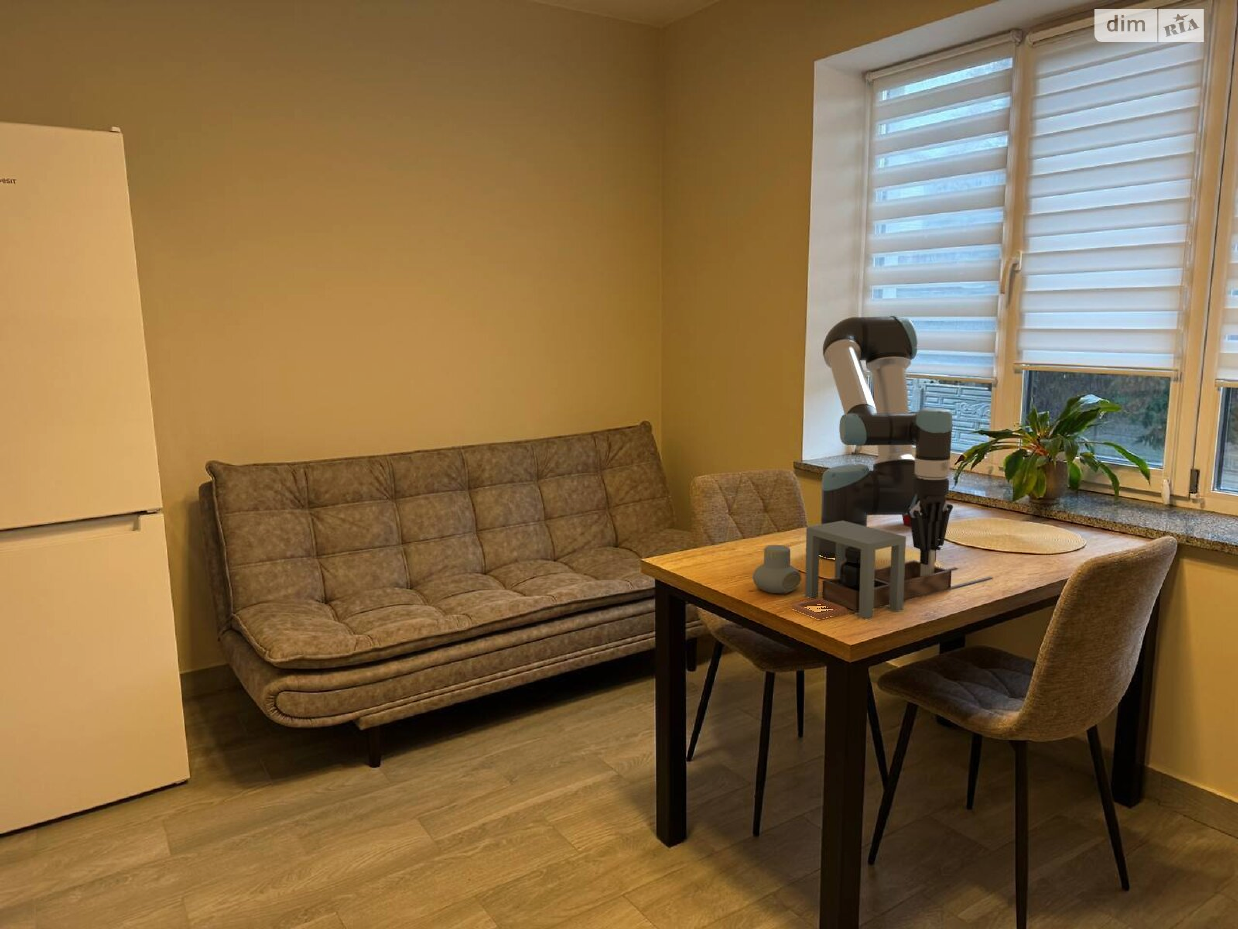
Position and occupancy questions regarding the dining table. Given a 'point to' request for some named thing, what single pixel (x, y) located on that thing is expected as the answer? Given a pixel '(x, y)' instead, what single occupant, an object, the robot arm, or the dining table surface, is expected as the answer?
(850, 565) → the supplement bottle
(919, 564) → the divided wooden tray
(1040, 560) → the dining table surface
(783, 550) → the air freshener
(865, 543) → the tunnel
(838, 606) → the frame
